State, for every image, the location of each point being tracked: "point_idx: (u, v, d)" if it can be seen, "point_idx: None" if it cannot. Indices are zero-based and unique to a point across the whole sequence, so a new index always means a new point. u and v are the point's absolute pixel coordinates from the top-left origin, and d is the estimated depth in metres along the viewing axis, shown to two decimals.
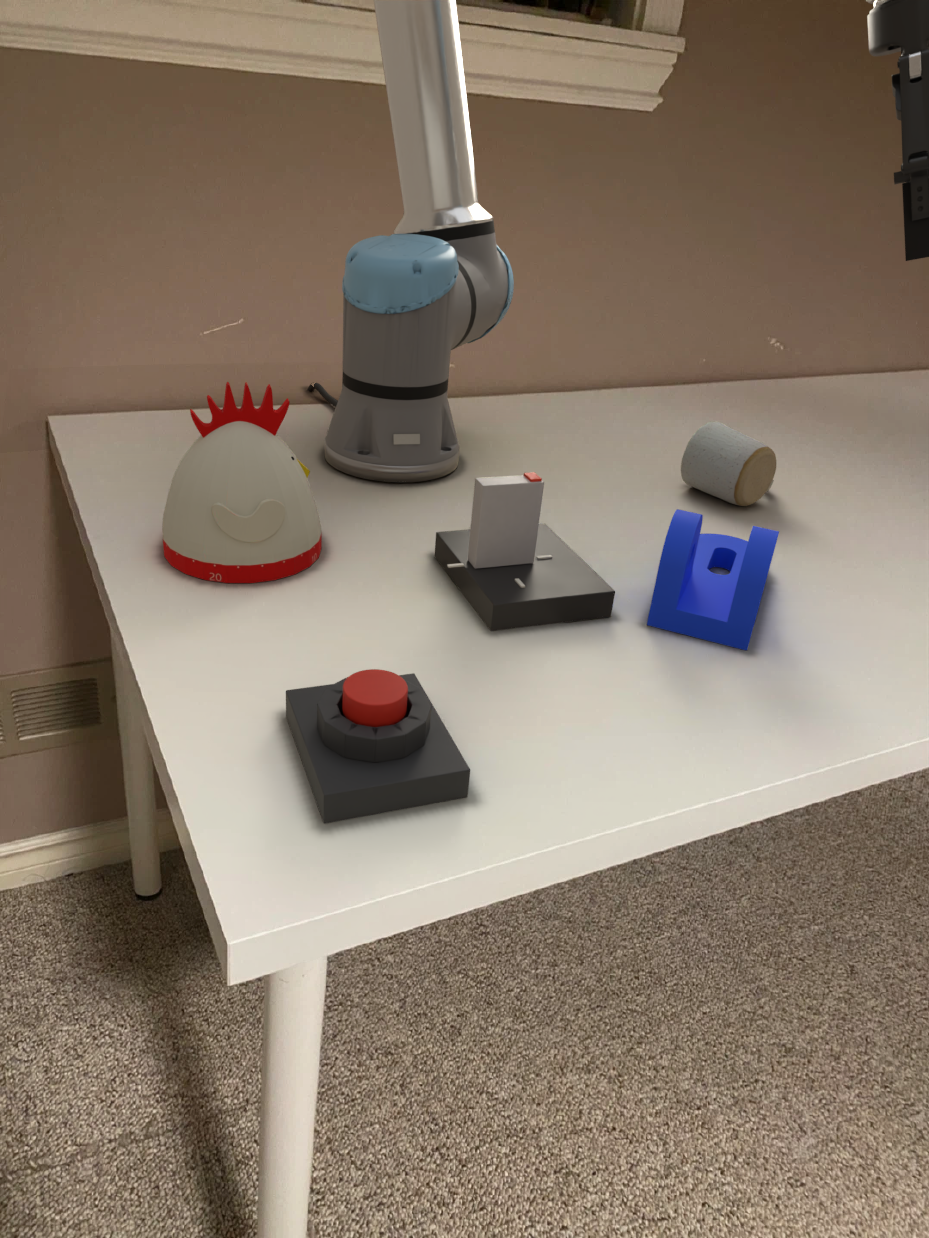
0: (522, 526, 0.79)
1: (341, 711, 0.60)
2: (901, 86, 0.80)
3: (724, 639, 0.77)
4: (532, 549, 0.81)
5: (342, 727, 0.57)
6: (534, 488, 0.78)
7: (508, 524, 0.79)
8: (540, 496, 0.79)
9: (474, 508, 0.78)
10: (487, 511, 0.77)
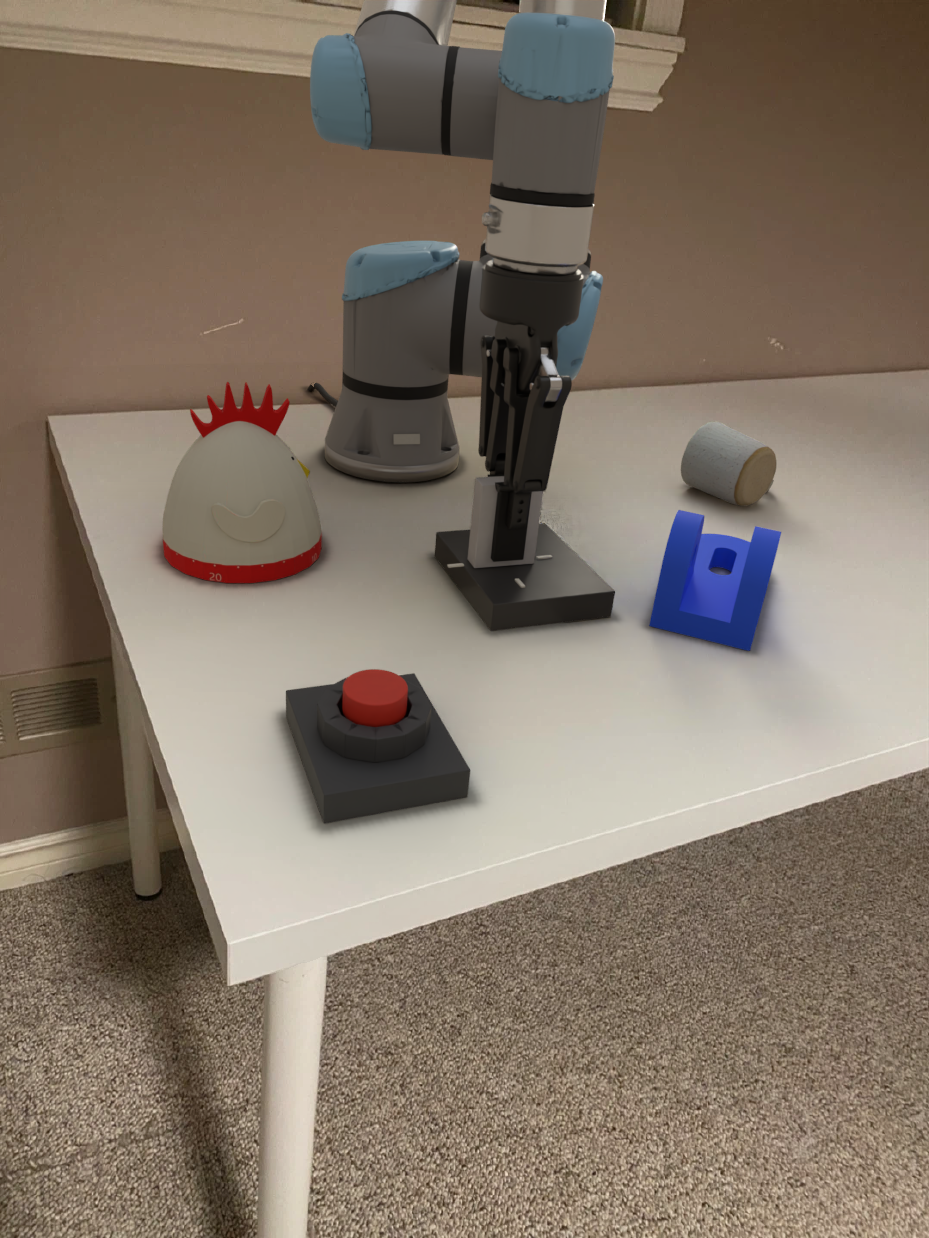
0: None
1: (341, 711, 0.60)
2: None
3: (727, 640, 0.77)
4: (532, 549, 0.81)
5: (342, 727, 0.57)
6: None
7: None
8: (540, 496, 0.79)
9: (474, 507, 0.78)
10: (486, 511, 0.78)
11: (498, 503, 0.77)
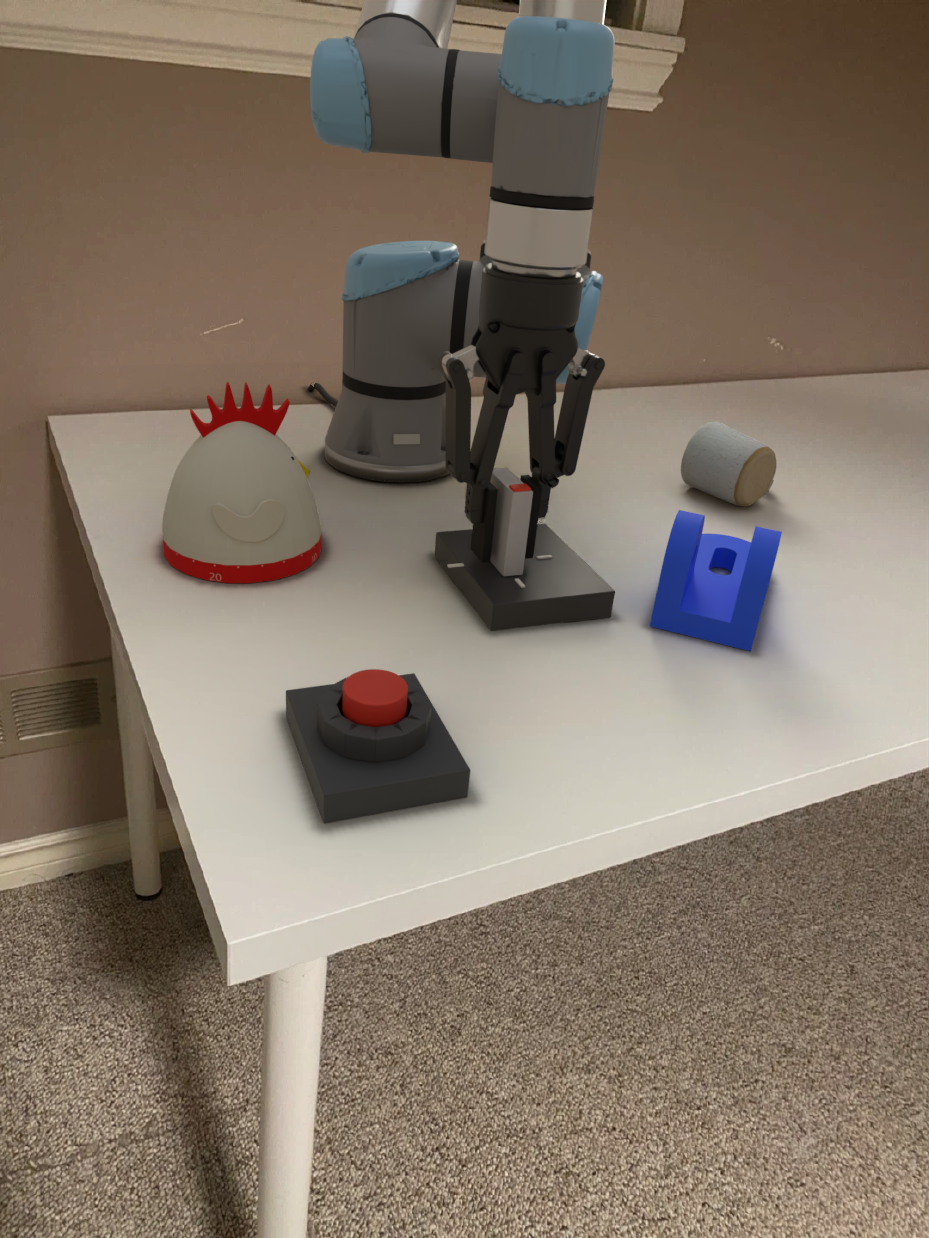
0: (500, 529, 0.78)
1: (341, 711, 0.60)
2: (592, 389, 0.75)
3: (727, 640, 0.77)
4: (503, 560, 0.79)
5: (342, 727, 0.57)
6: (508, 495, 0.76)
7: (495, 520, 0.79)
8: (510, 506, 0.76)
9: None
10: None
11: None
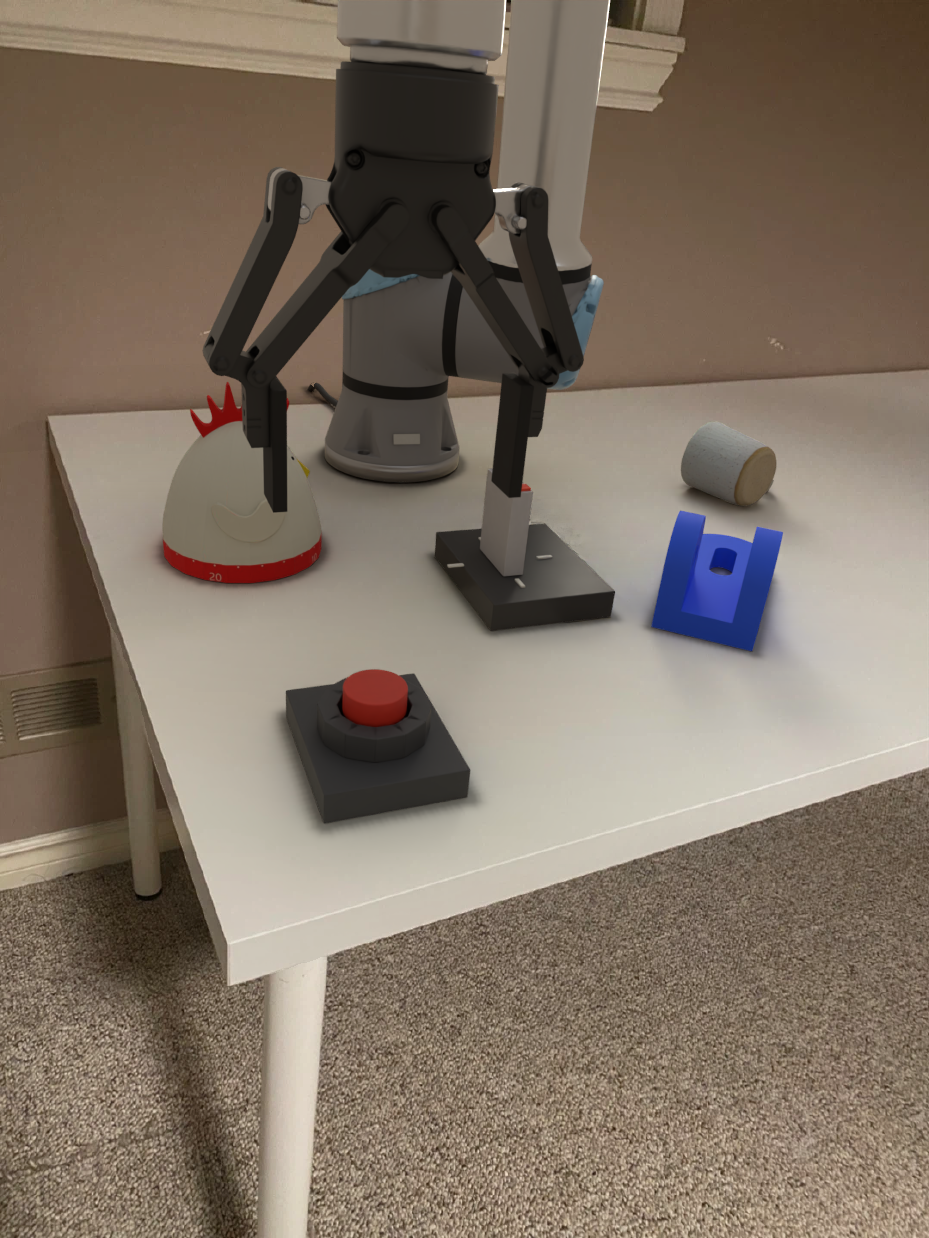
0: (500, 529, 0.78)
1: (341, 711, 0.60)
2: (547, 237, 0.48)
3: (729, 640, 0.77)
4: (503, 560, 0.79)
5: (342, 727, 0.57)
6: None
7: (495, 520, 0.79)
8: (510, 506, 0.76)
9: None
10: (487, 496, 0.80)
11: None
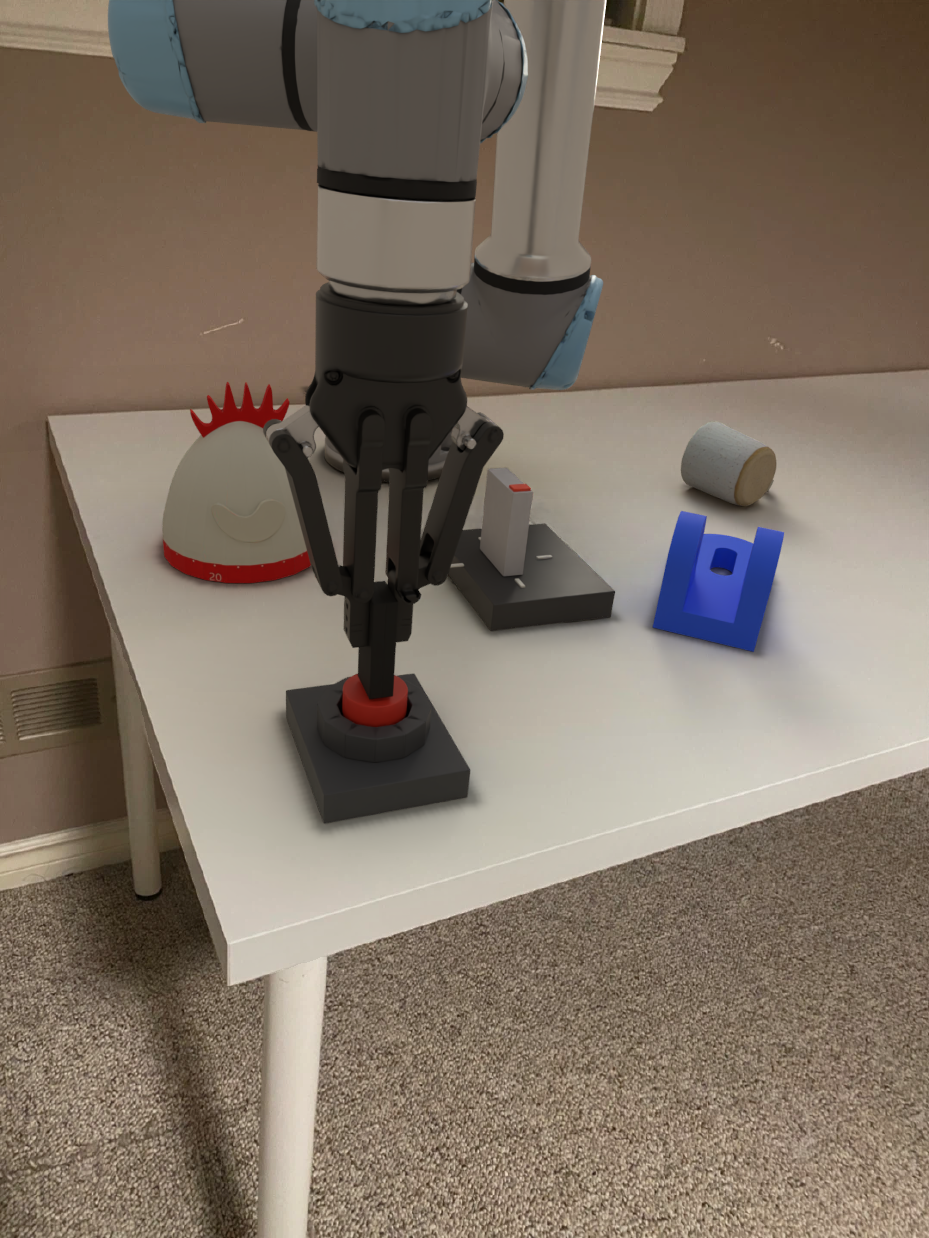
0: (500, 529, 0.78)
1: (341, 711, 0.60)
2: (481, 468, 0.52)
3: (731, 640, 0.77)
4: (503, 560, 0.79)
5: (342, 727, 0.57)
6: (508, 495, 0.76)
7: (495, 520, 0.79)
8: (510, 506, 0.76)
9: None
10: (487, 496, 0.80)
11: None
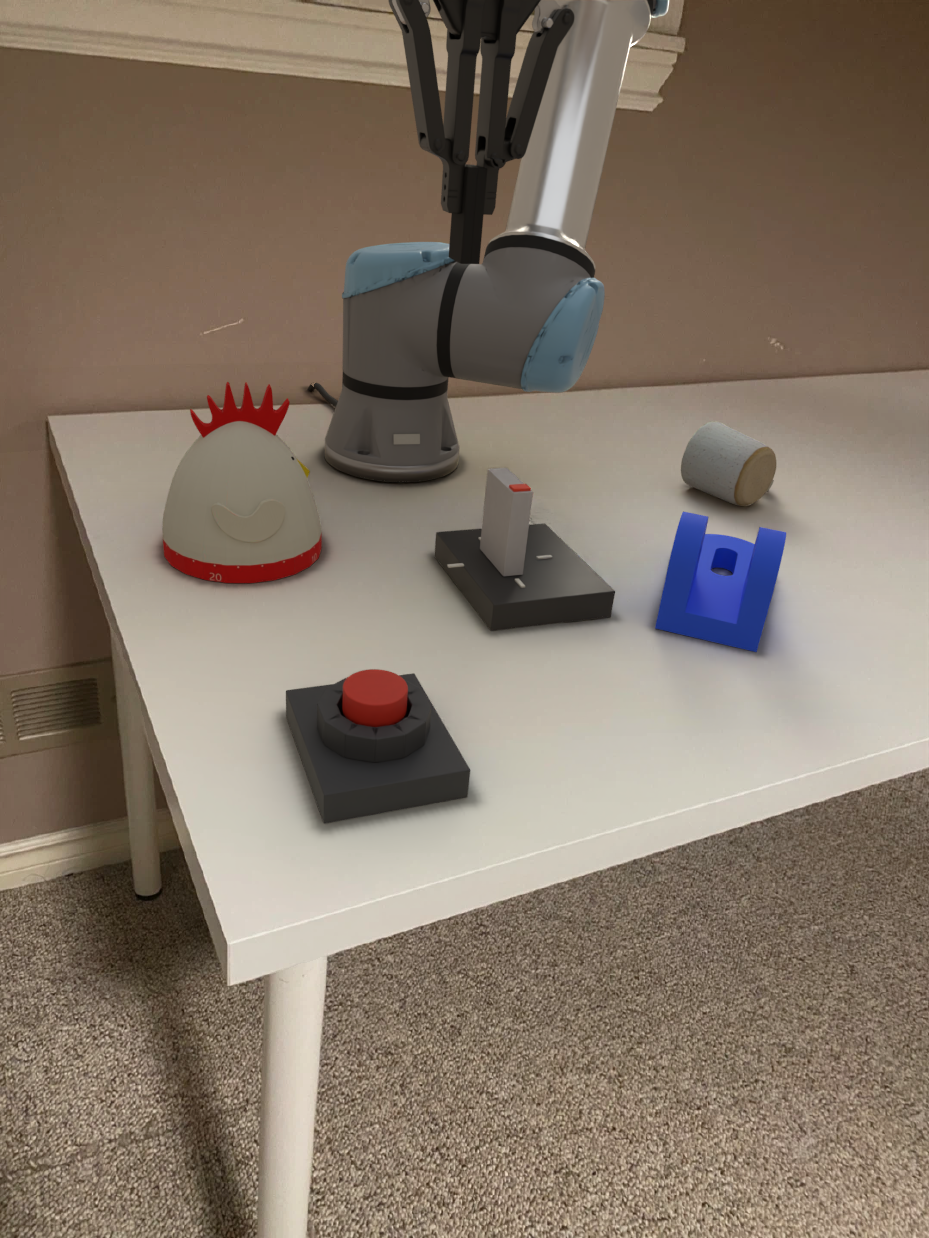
0: (500, 529, 0.78)
1: (341, 711, 0.60)
2: (556, 49, 0.66)
3: (733, 641, 0.77)
4: (503, 560, 0.79)
5: (342, 727, 0.57)
6: (508, 495, 0.76)
7: (495, 520, 0.79)
8: (510, 506, 0.76)
9: None
10: (487, 496, 0.80)
11: None
